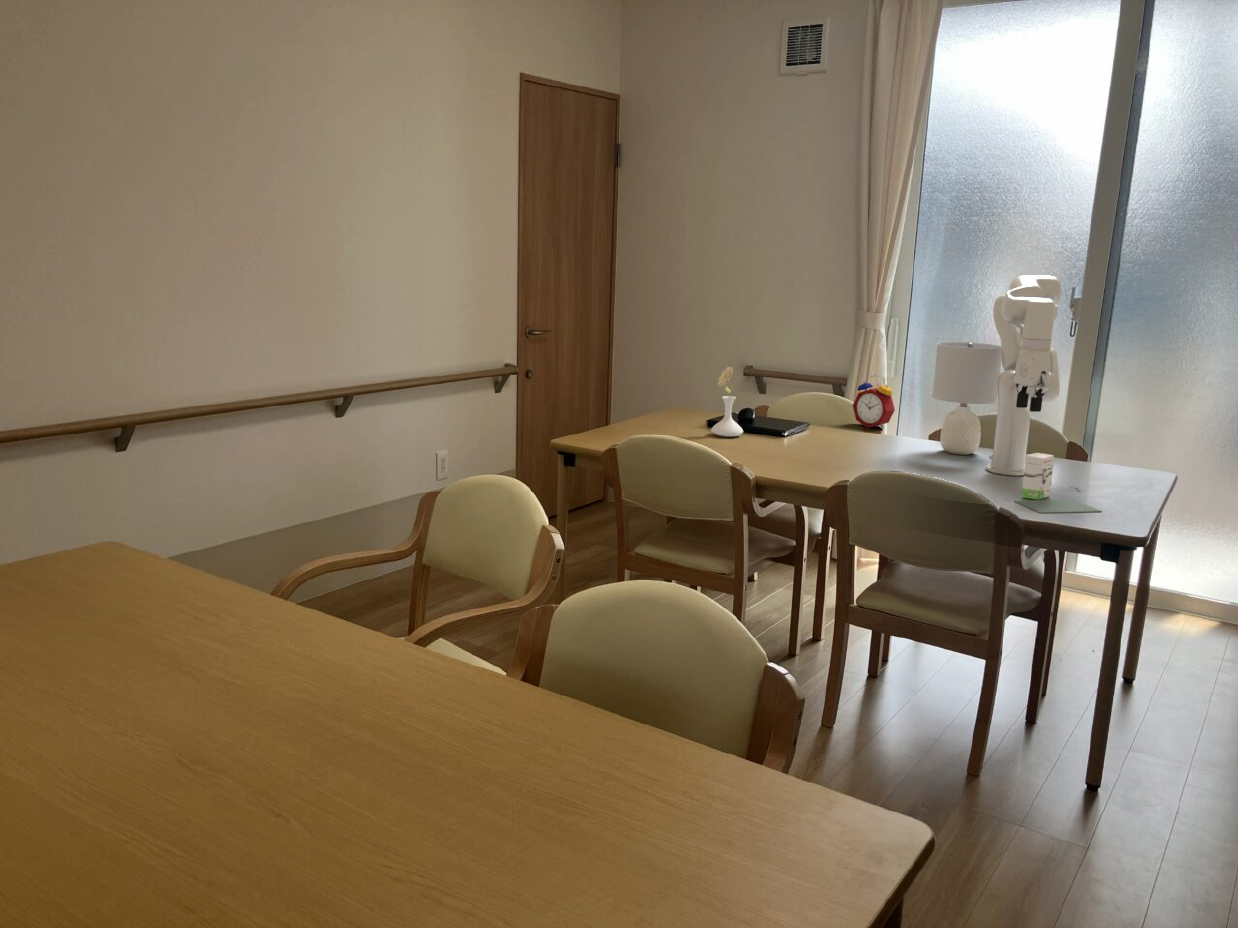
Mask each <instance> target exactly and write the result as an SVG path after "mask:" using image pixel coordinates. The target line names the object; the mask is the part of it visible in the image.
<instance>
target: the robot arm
mask: <svg viewBox="0 0 1238 928" xmlns="http://www.w3.org/2000/svg"><path fill="white" fill-rule="evenodd" d="M1008 290H1009V291H1007V292H1006V293H1004V294H1001V295H999V296H998V297H997V298H996V299H995V301H994V304H993V311H992V312H993V313H992V314H993V315H992V316H993V322H994V325H995V329H996V332H997V333H998V336H999V338H1000V346H1001V356H1002V361H1001V367H1002V369H1003V370H1004V371H1002V372H1000V376H999V378H998V396H997V411H996V413H997V415H996V424H995V430H994V441H993V448H992V449H993V450H992V454H989V455H988V459H989V460H991V461H990V463H989V464H986V466H985V471H988V472H991V473H994V474H998V475H1004V476H1018V477H1019V476H1020V477H1021V476H1024V468H1025V458H1026V456H1027V448H1028V439H1029V431H1030V423H1031V415H1030V412H1031V413H1032V412H1033V413H1034V412H1038V413H1039V412H1041V411H1042V408H1043V407H1042V406H1043V405H1042V404H1043V403H1045V404H1047V403H1049V404H1050V403H1053V402H1055V401H1057V400H1058V398H1059V395H1060V389H1061V387H1060V386H1061V383H1060V372H1059V371H1060V370H1059V369H1060V368H1059V359H1058V353H1057V350H1056V349H1055V348H1054V347H1052V346H1051V345H1052V337H1053V331H1054V330H1053V329H1054V322H1055V320H1057V315H1058V304H1059V301H1060V298H1061V295H1062V285H1061V281H1060V280H1059V278H1057V277H1055V276H1051V275H1031V274H1029V275H1020V276H1017V277H1016V278H1014V279H1013V280H1012V281H1011V283H1010V285H1009V288H1008ZM1028 403H1030V404H1029V411H1028V409H1027V408H1028Z"/></svg>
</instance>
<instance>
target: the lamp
mask: <svg viewBox="0 0 1238 928" xmlns="http://www.w3.org/2000/svg"><path fill="white" fill-rule="evenodd" d="M934 367H935V369H934V378H933V389H932V398H933V399H935V400H939V401H941V402H942V401H943V402H950V403H958V404H960V405H957V407H956V408H955V410H954V411H950V412H948V414H946V415H945V417H944V420H943V422H942V425H941V431H940V437H939V438H940V439H939V440H940V445H941V448H942V449H943V450H944V451H945V452H947V453H948V454H953V455H959V456H960V455H961V456H964V455H967V456H968V455H972V454H973V453H975V452H976V451H977V450H978V448H979V446H980V443H981V434H982V433H981V431H982V430H981V421H980V418H979V416H978V415H977V414H975V413H973V412H972V410H971V408H970V406H969V405H988V404H989V405H990V404H996V403H998V378H999V376H1000V374H1001V370H1002V369H1001V368H1002V356H1001V345H997V344H991V343H983V342H982V343H979V342H966V341H965V342H964V341H963V342H962V341H943V342H938V343H937V347H936V358H935V366H934ZM968 404H969V405H968Z"/></svg>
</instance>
